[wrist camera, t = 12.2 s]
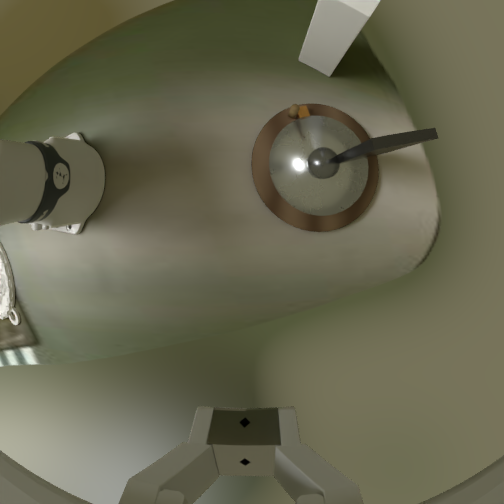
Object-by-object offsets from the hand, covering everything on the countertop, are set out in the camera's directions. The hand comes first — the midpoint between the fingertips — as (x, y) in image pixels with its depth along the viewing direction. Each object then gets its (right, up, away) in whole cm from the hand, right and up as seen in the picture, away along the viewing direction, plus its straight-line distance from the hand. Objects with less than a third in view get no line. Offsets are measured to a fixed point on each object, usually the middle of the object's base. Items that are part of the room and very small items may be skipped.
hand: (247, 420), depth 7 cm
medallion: (-67, -2, +38) cm, 77 cm away
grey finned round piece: (+11, +19, +30) cm, 38 cm away
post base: (+10, +19, +32) cm, 39 cm away
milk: (+12, +38, +29) cm, 49 cm away
